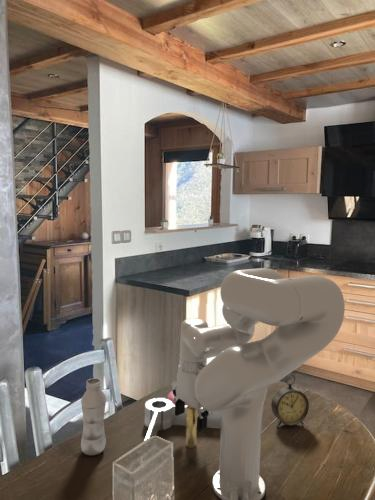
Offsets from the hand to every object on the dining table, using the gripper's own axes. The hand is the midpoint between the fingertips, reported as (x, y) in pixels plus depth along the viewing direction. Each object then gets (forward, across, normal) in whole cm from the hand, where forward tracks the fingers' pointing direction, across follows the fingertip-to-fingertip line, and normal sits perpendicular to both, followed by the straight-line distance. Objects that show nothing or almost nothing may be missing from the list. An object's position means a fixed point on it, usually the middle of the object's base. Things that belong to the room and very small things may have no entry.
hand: (190, 421), depth 116 cm
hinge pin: (+7, -1, 0) cm, 7 cm away
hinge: (+7, +3, +1) cm, 7 cm away
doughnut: (+8, +19, -13) cm, 24 cm away
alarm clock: (+7, -11, -31) cm, 33 cm away
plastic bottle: (+7, +13, +23) cm, 27 cm away
